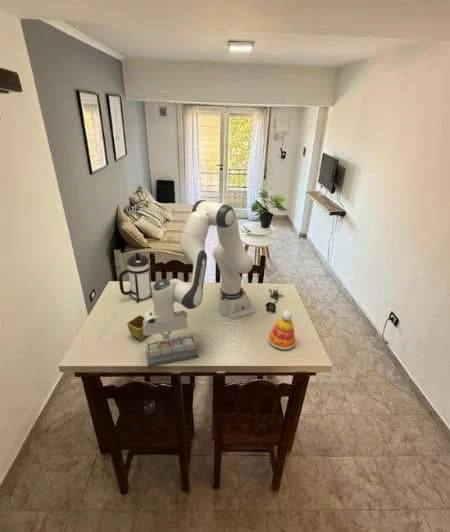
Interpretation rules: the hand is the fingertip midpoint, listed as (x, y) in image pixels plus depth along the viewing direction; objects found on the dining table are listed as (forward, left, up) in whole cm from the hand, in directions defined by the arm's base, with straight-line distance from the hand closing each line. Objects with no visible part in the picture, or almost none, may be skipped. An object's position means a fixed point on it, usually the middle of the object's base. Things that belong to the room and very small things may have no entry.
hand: (166, 337), depth 143 cm
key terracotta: (+1, 0, -9) cm, 9 cm away
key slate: (-5, 0, -8) cm, 9 cm away
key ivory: (-10, 0, -8) cm, 13 cm away
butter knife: (+28, -29, -10) cm, 41 cm away
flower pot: (+11, -16, -10) cm, 22 cm away
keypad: (-2, 0, -9) cm, 10 cm away
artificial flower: (-69, -27, -10) cm, 75 cm away
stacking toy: (-58, +7, -10) cm, 59 cm away
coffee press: (+9, -53, -9) cm, 54 cm away
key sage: (+6, 0, -8) cm, 10 cm away
